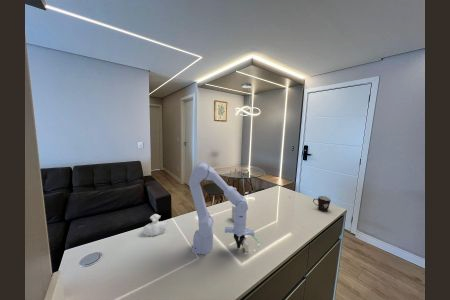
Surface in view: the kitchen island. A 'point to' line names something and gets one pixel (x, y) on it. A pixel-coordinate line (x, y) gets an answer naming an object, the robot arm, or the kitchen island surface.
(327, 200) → the coffee mug
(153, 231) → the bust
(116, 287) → the kitchen island surface
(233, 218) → the small box
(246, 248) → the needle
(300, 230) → the kitchen island surface
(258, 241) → the dial
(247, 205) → the robot arm
